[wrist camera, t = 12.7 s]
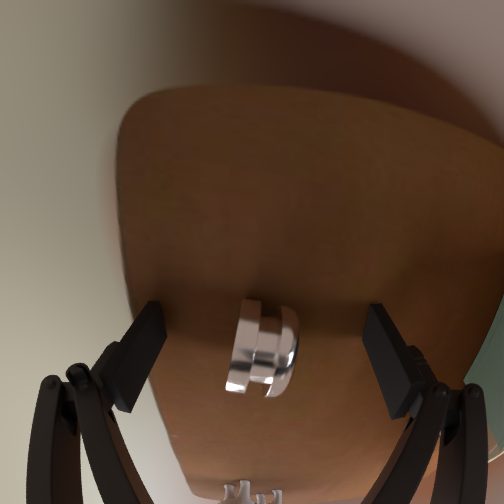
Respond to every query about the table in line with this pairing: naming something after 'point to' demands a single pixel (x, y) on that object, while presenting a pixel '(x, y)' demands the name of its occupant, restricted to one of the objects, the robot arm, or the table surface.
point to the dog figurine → (247, 495)
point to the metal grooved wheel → (264, 350)
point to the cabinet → (492, 375)
